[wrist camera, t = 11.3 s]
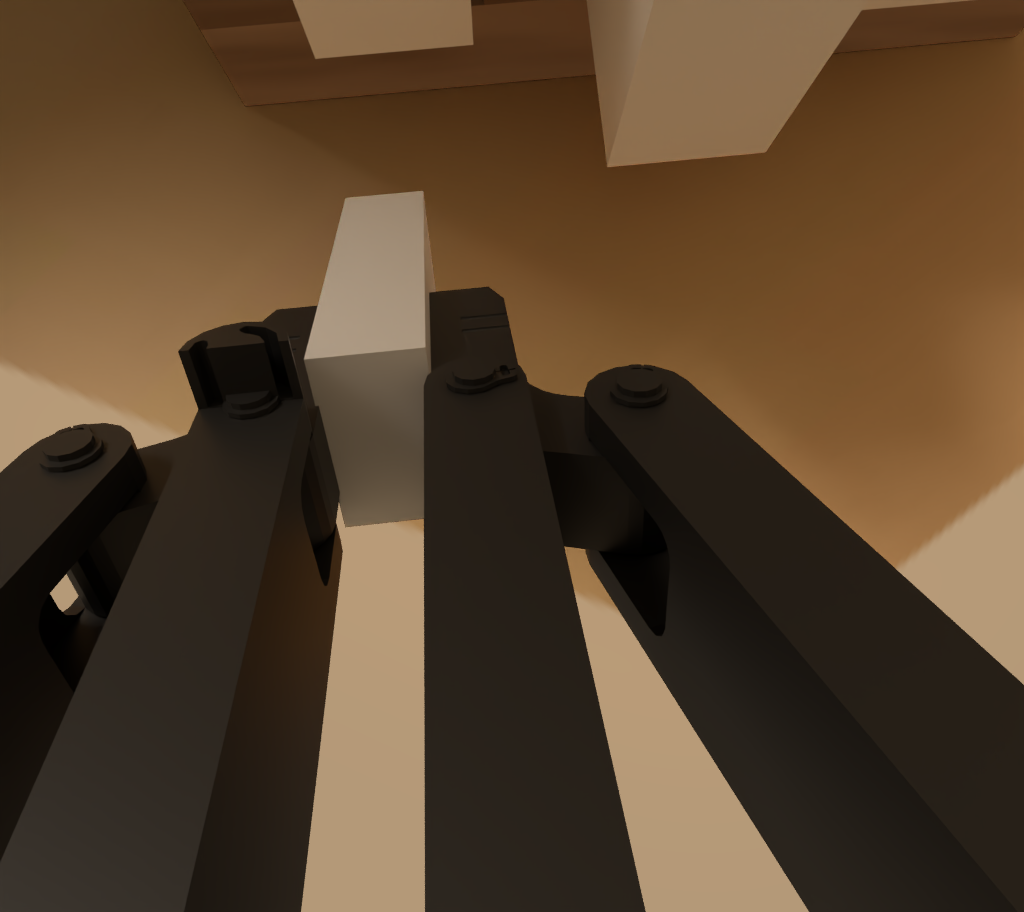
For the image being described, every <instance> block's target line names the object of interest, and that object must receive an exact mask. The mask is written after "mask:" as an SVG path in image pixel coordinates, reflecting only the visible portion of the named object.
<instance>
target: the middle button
mask: <svg viewBox="0 0 1024 912" xmlns="http://www.w3.org/2000/svg"><path fill="white" fill-rule="evenodd" d="M867 1H868V0H587V8H588V16H589V24H590V32H591V40H592V48H593V56H594V64H595V73H596V81H597V89H598V97H599V105H600V113H601V121H602V129H603V137H604V145H605V153H606V161H607V167H616V166H626V165H637V164H648V163H658V162H669V161H680V160H690V159H701V158H712V157H723V156H733V155H744V154H755V153H765V152H766V151H767V150H768V148H769V147H770V145H771V144H772V142H773V141H774V139H775V138H776V136H777V135H778V133H779V132H780V130H781V129H782V127H783V126H784V124H785V123H786V122H787V120H788V119H789V117H790V116H791V114H792V113H793V111H794V110H795V108H796V107H797V105H798V104H799V102H800V101H801V99H802V98H803V96H804V95H805V93H806V92H807V90H808V89H809V87H810V86H811V84H812V83H813V82H814V80H815V79H816V77H817V76H818V74H819V73H820V71H821V70H822V68H823V67H824V65H825V64H826V62H827V61H828V59H829V58H830V56H831V55H832V53H833V52H834V50H835V49H836V47H837V46H838V44H839V43H840V41H841V40H842V39H843V37H844V36H845V34H846V33H847V31H848V30H849V28H850V27H851V25H852V24H853V22H854V21H855V19H856V18H857V16H858V15H859V13H860V12H861V10H862V9H863V7H864V6H865V4H866V3H867Z"/></svg>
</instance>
